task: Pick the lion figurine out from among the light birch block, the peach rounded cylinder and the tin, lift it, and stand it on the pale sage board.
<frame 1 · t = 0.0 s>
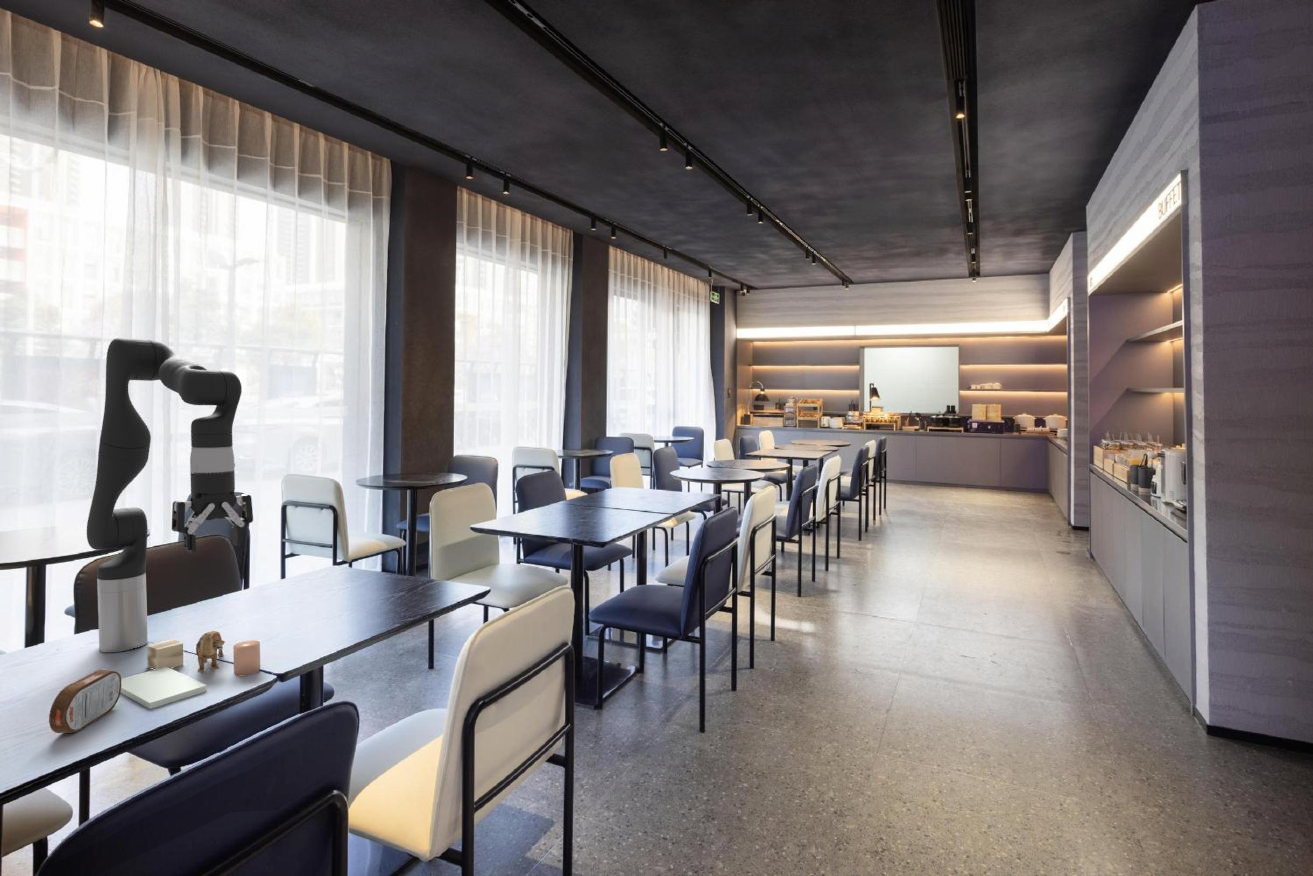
hand: (214, 548, 140), 29 cm above the table, tool pointing down, fingers open, 8 cm apart
tin: (89, 723, 127), on the table
sage board: (158, 689, 141), on the table
lion figurine: (212, 666, 155), on the table
birch block: (165, 666, 154), on the table
peach rounded cylinder: (247, 671, 151), on the table
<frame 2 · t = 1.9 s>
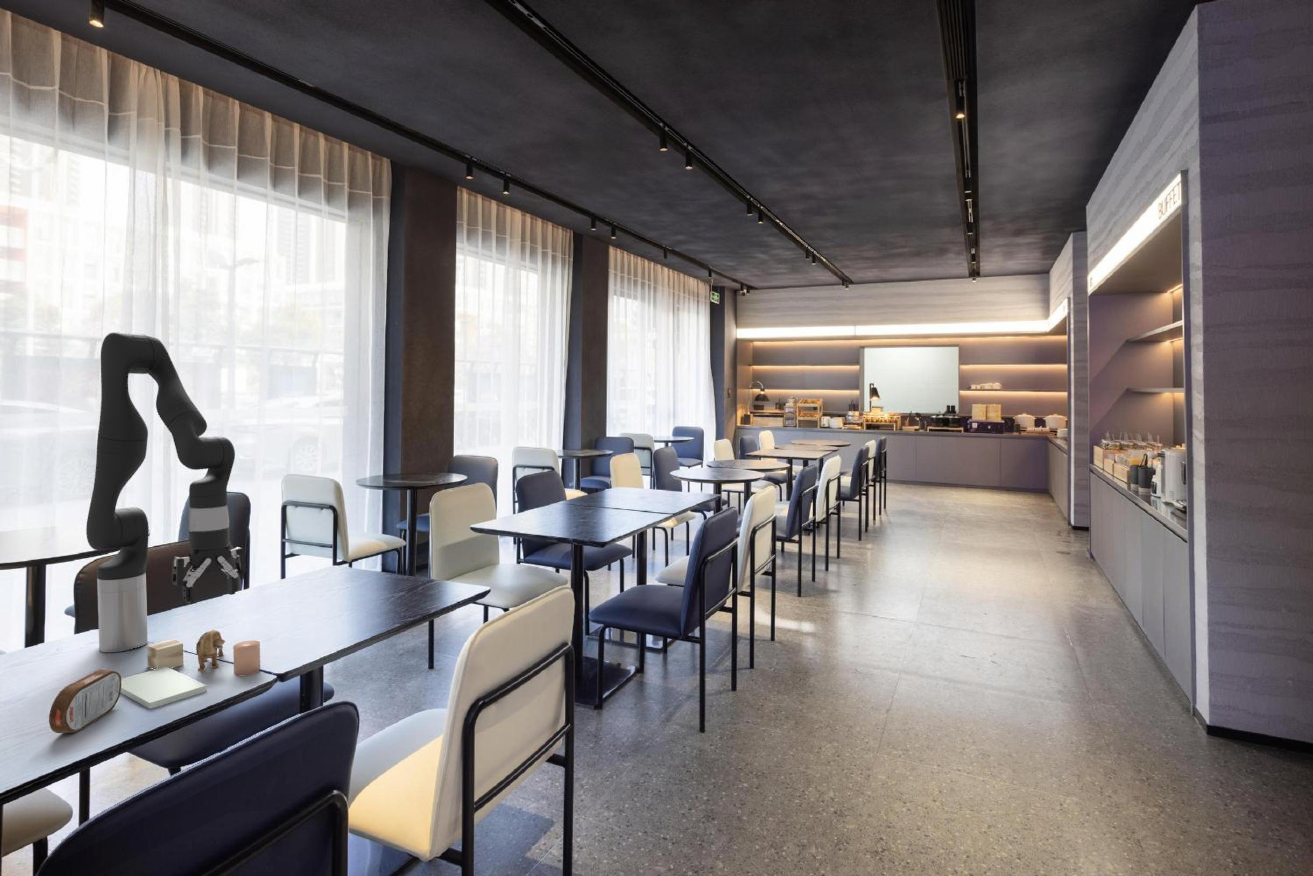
hand: (210, 598, 154), 15 cm above the table, tool pointing down, fingers open, 8 cm apart
nothing on the table moved.
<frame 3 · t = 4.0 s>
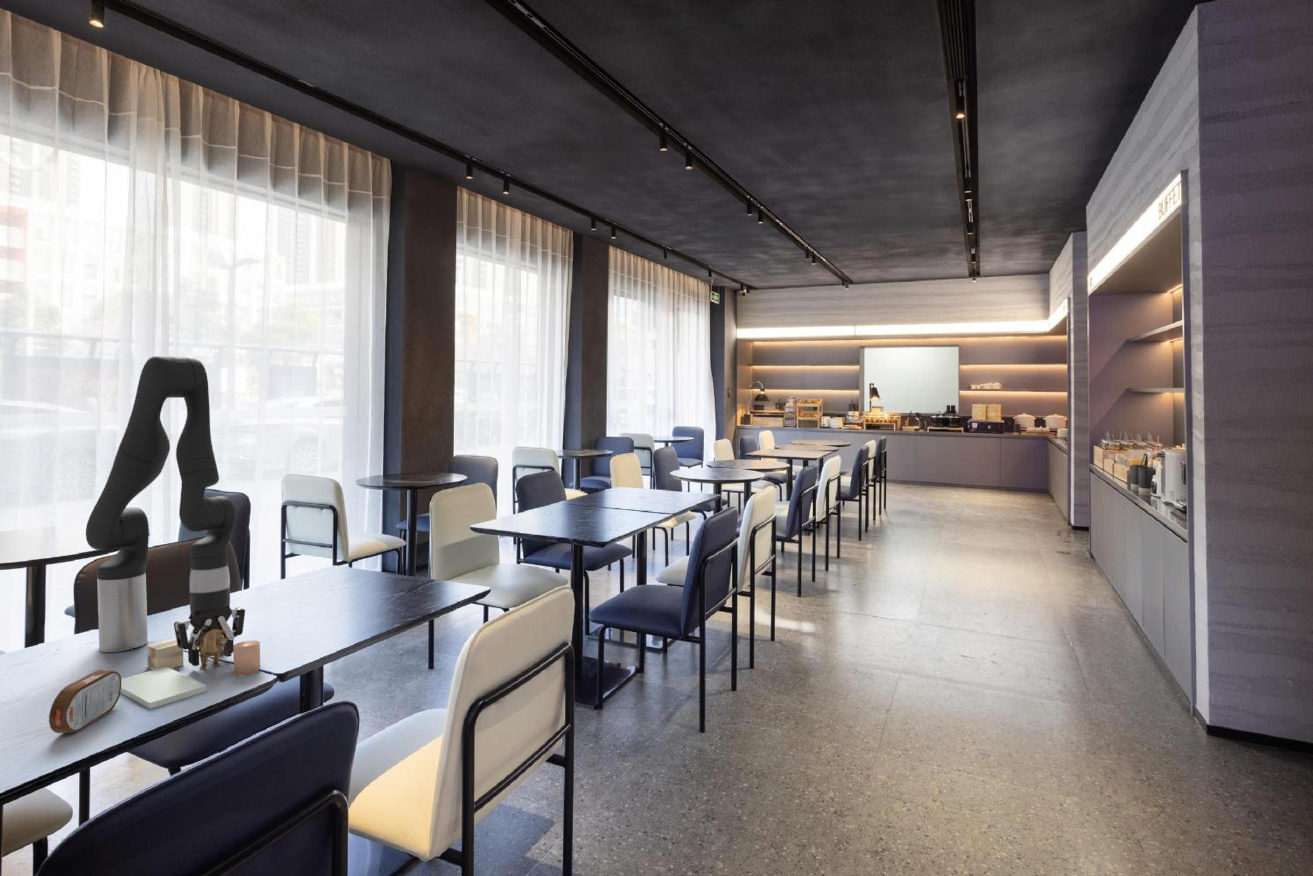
hand: (211, 660, 154), 1 cm above the table, tool pointing down, fingers closed on lion figurine, 6 cm apart
lion figurine: (214, 663, 156), on the table, touching gripper
everything else where it was.
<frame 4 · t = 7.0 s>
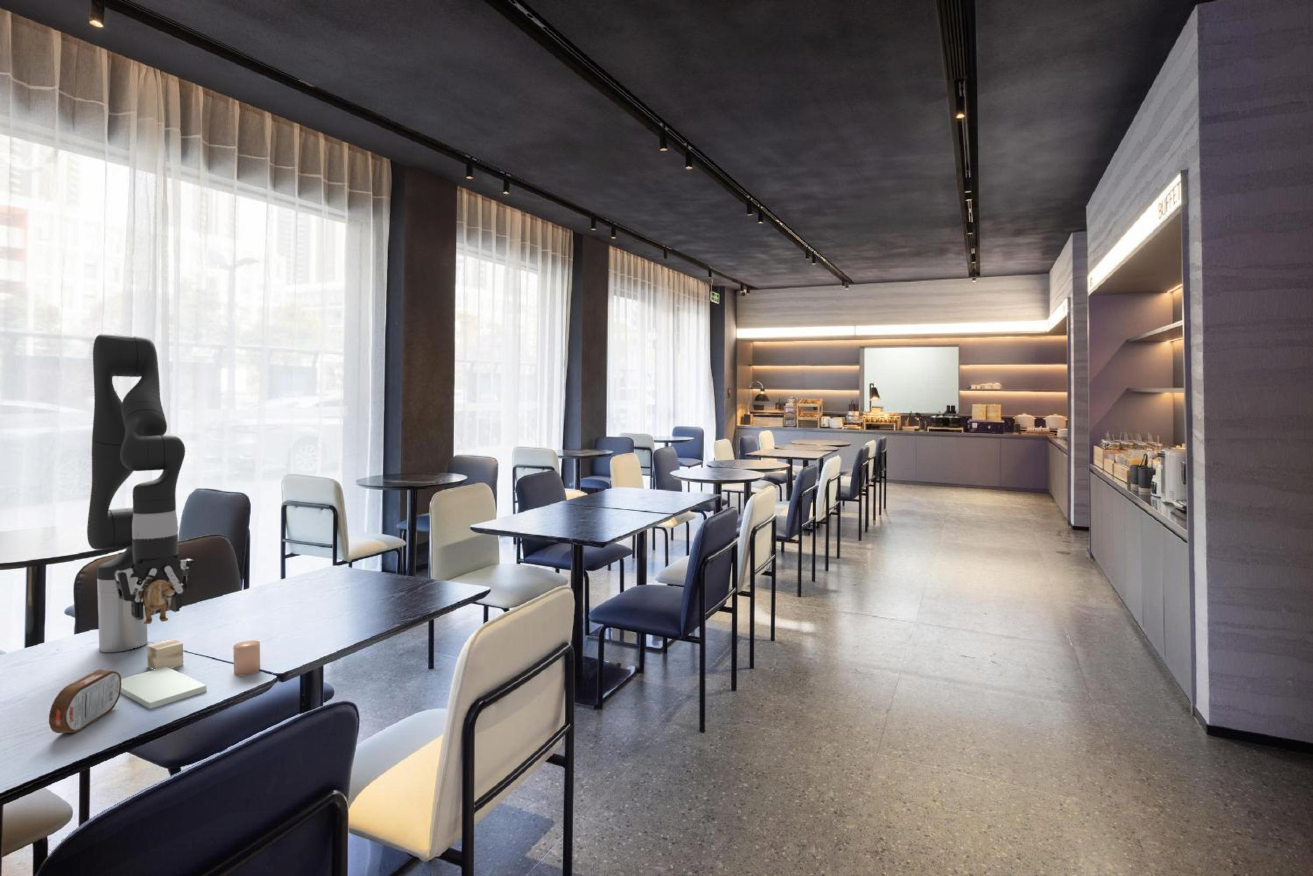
hand: (157, 614, 141), 15 cm above the table, tool pointing down, fingers closed on lion figurine, 6 cm apart
lion figurine: (161, 618, 142), point 14 cm above the table, touching gripper
everything else where it was.
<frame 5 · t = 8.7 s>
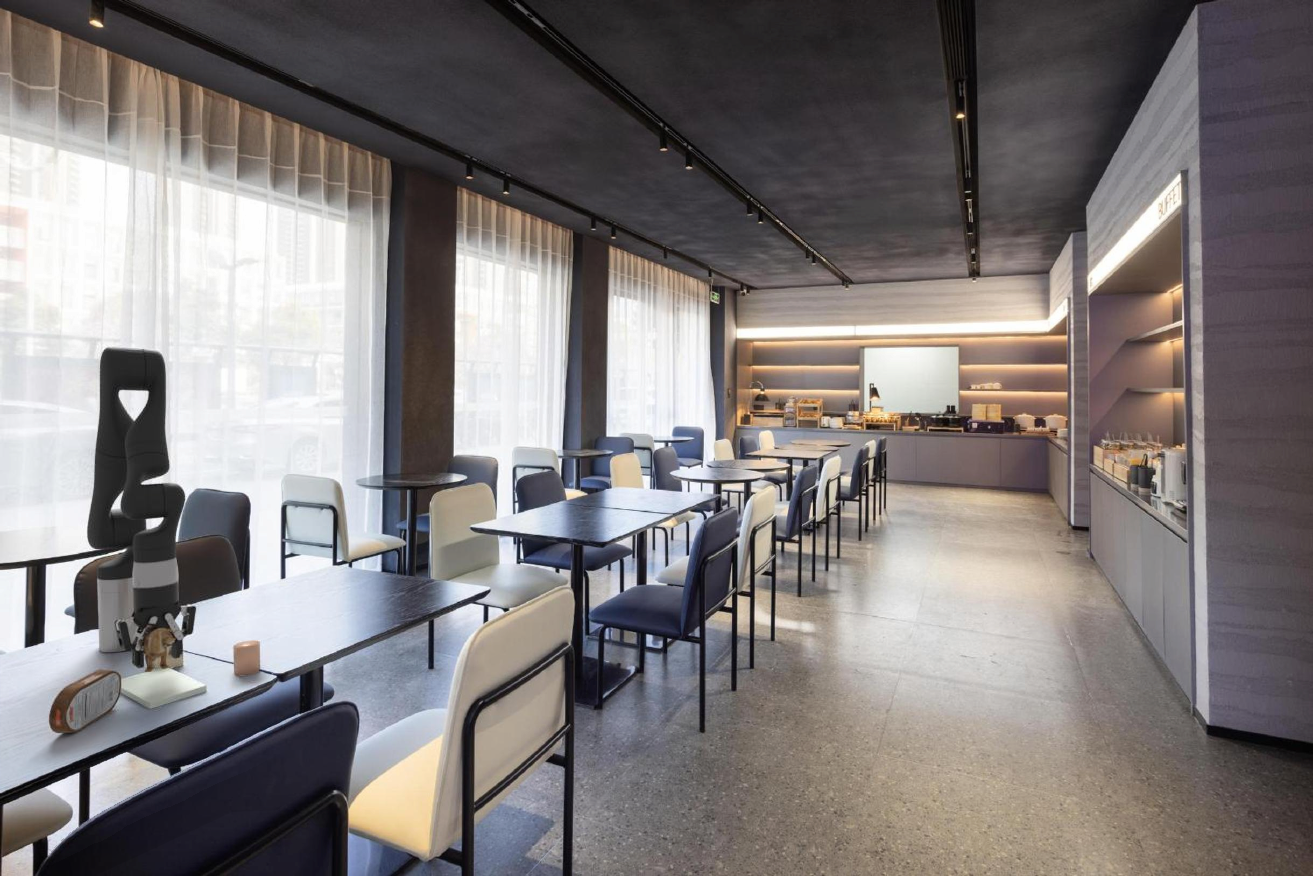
hand: (158, 662, 141), 6 cm above the table, tool pointing down, fingers closed on lion figurine, 6 cm apart
lion figurine: (161, 665, 142), point 4 cm above the table, touching gripper
everything else where it was.
when the fingers open (4 cm above the table, at t = 10.0 s): lion figurine drops 2 cm, resting on sage board.
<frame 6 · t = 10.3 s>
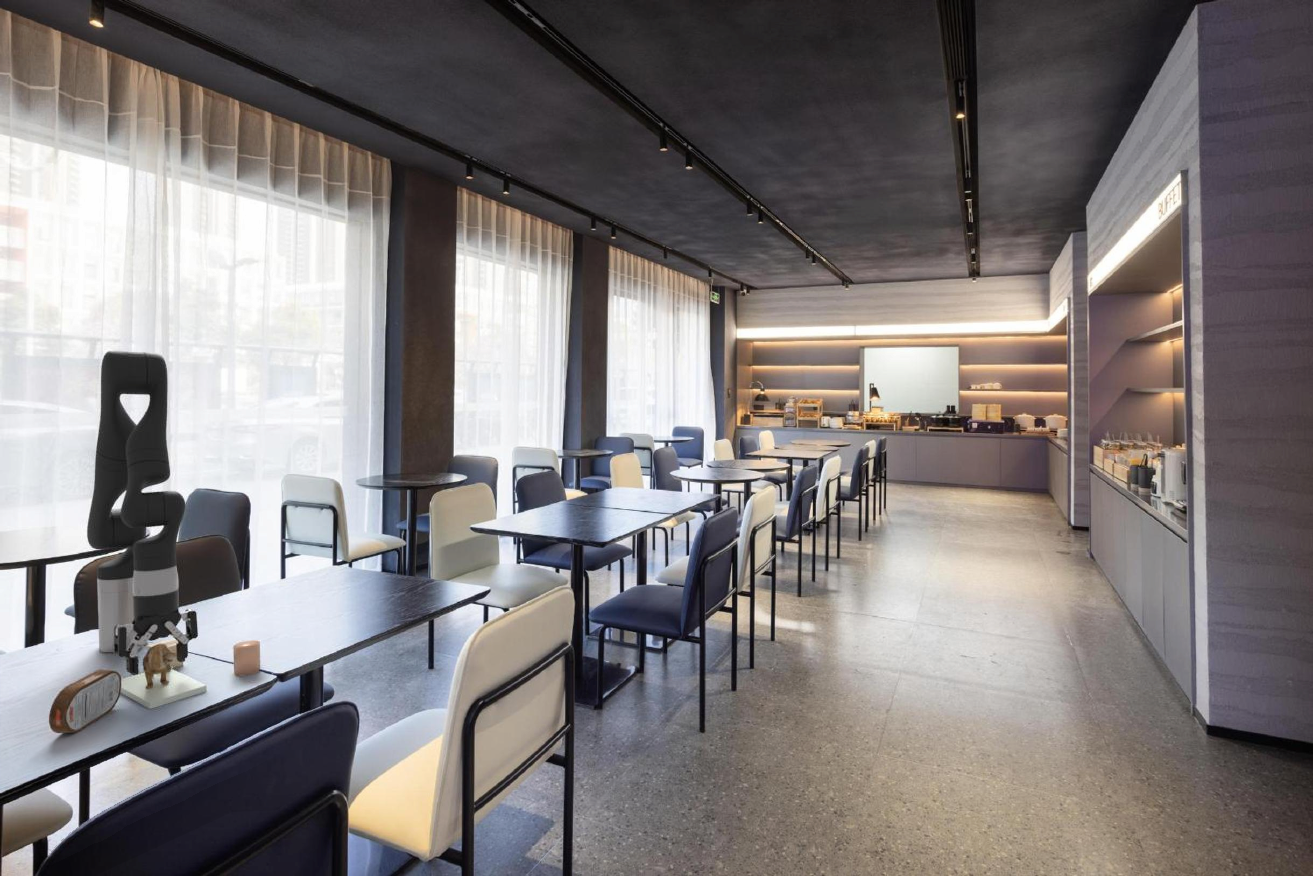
hand: (158, 667, 141), 5 cm above the table, tool pointing down, fingers open, 8 cm apart
lion figurine: (161, 681, 143), point 1 cm above the table, touching sage board
everything else where it was.
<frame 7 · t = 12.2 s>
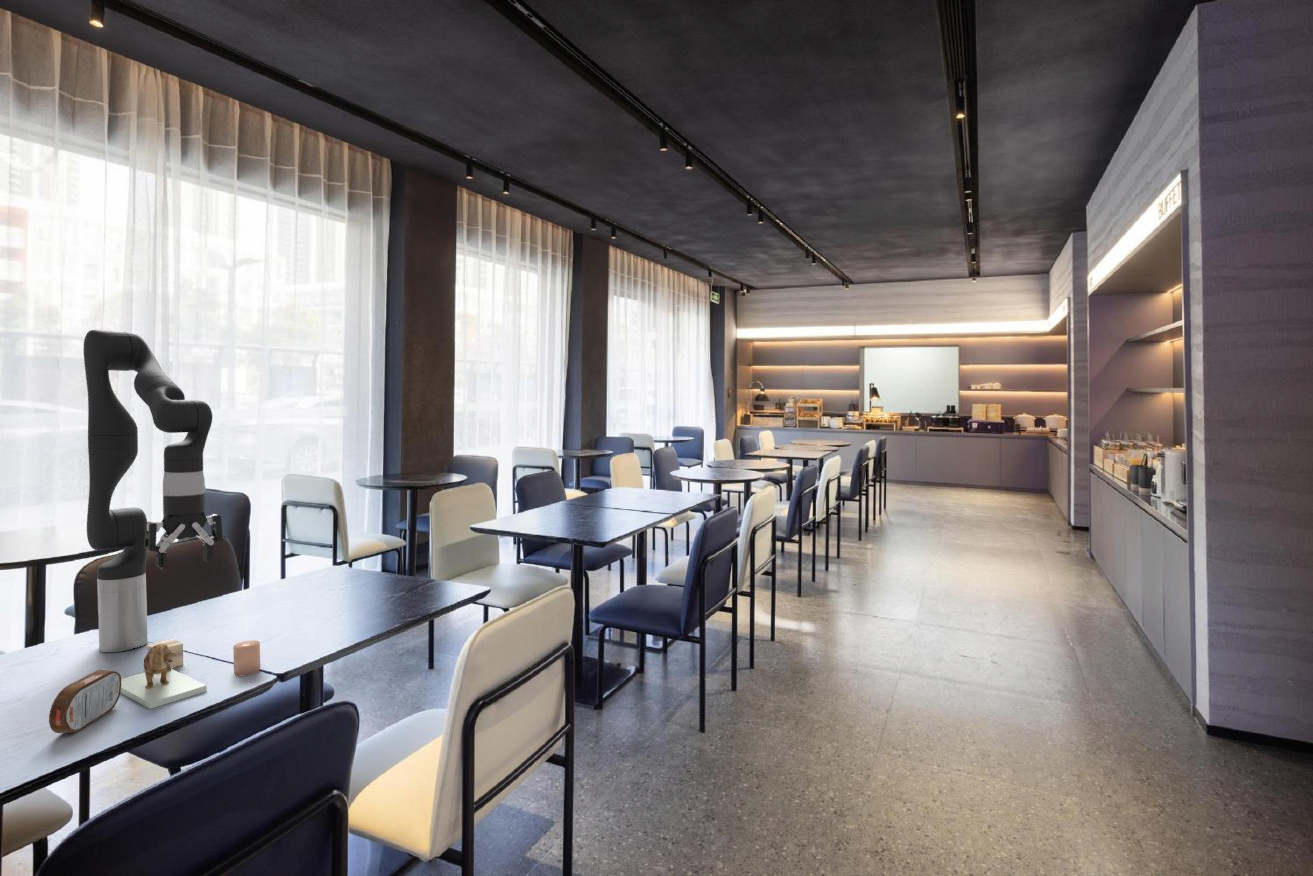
hand: (185, 565, 151), 23 cm above the table, tool pointing down, fingers open, 8 cm apart
nothing on the table moved.
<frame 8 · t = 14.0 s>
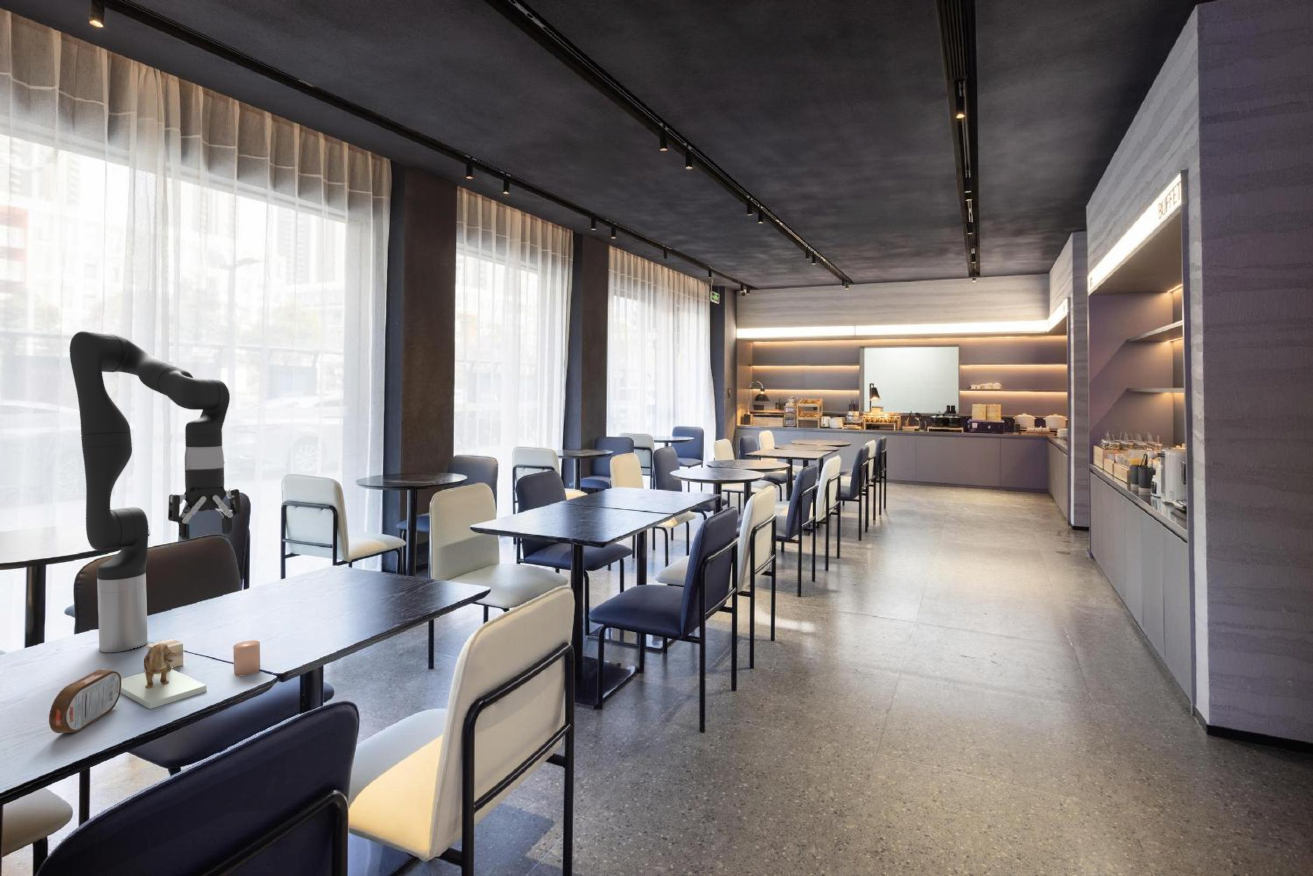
hand: (206, 536, 158), 28 cm above the table, tool pointing down, fingers open, 8 cm apart
nothing on the table moved.
at the end: lion figurine inside the target area on the sage board (1.6 cm from its centre), point 1.0 cm above the sage board's base; lion figurine tilted 0°; the gripper is holding nothing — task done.
